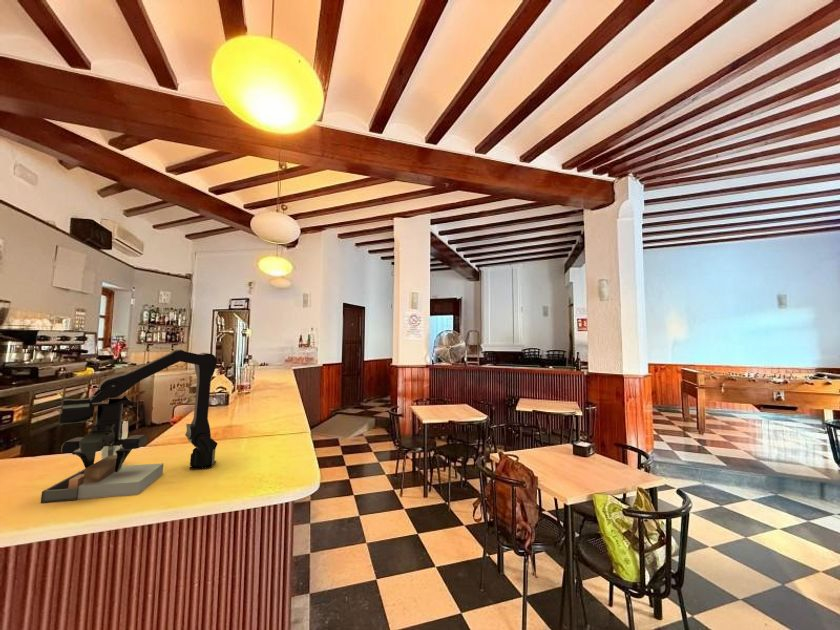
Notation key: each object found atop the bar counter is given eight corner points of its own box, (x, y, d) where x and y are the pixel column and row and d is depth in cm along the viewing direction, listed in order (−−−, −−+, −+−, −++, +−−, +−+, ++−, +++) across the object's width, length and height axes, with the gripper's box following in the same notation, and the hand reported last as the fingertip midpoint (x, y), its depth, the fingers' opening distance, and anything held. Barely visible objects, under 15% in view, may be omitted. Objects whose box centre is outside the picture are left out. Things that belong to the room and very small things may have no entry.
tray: (112, 476, 106) (113, 467, 106) (75, 500, 91) (77, 488, 91) (83, 478, 104) (84, 469, 104) (40, 503, 89) (41, 491, 89)
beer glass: (107, 472, 109) (112, 426, 111) (91, 470, 111) (96, 424, 112) (129, 465, 116) (134, 421, 117) (114, 463, 118) (118, 420, 119)
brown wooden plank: (121, 467, 105) (122, 454, 105) (98, 482, 94) (99, 467, 95) (107, 468, 104) (109, 455, 104) (83, 483, 93) (84, 468, 94)
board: (162, 474, 109) (163, 463, 110) (137, 494, 95) (139, 481, 95) (111, 477, 106) (112, 466, 106) (77, 499, 91) (78, 486, 92)
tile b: (88, 473, 97) (79, 474, 97) (78, 479, 93) (69, 479, 93) (86, 487, 97) (77, 488, 96) (76, 493, 93) (67, 494, 93)
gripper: (48, 427, 90) (41, 486, 89) (130, 424, 95) (125, 481, 94) (78, 418, 101) (72, 471, 100) (150, 416, 106) (145, 466, 105)
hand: (103, 472), depth 99 cm, fingers open, 6 cm apart
